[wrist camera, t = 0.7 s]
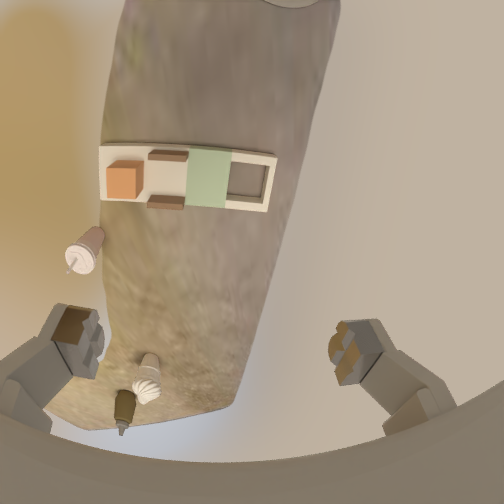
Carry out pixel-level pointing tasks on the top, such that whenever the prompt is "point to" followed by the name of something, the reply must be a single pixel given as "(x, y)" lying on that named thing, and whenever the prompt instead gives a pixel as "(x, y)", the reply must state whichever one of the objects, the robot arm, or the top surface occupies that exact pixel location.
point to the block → (125, 179)
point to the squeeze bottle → (124, 410)
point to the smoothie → (85, 251)
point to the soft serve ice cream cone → (147, 379)
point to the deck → (187, 175)
